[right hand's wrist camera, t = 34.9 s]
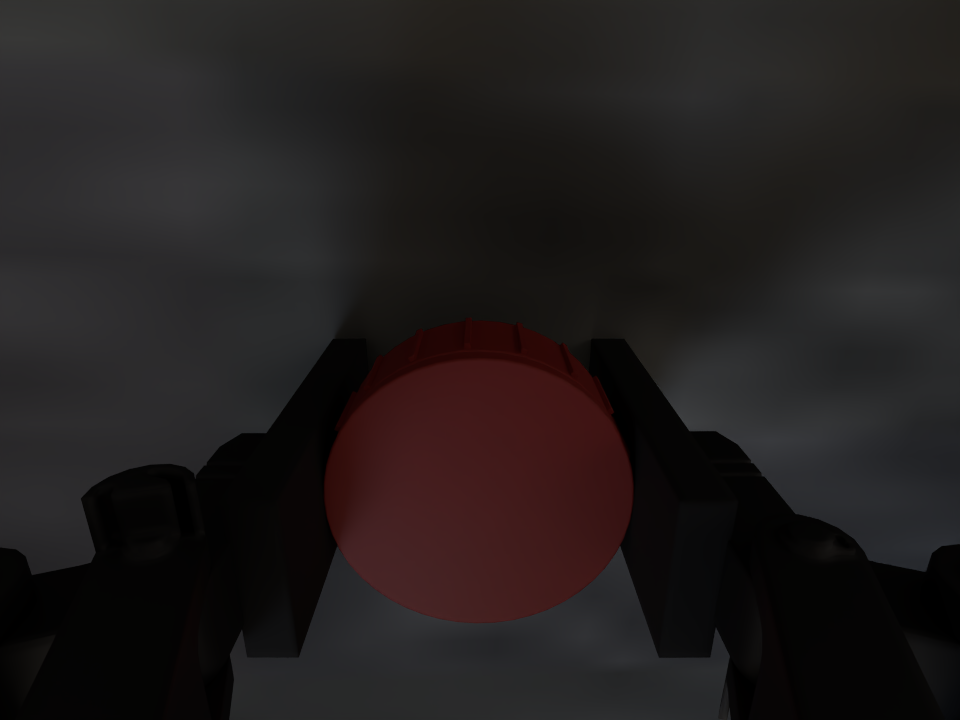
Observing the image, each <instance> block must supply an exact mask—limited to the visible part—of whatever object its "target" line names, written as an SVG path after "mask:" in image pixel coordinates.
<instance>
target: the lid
mask: <svg viewBox="0 0 960 720" xmlns="http://www.w3.org/2000/svg"><path fill="white" fill-rule="evenodd" d="M613 413H614V411H613V409H612V407H611V405H610V403H609V400H608V398H607V396H606V394H605V392H604V390H603V388H602V386H601V384H600V381H599V379H598V378H597V376H594V377H593V378H592V376H591V375H590V373H589V372H588V371H587V370H586V369H585V368H584V366H583V365H582V364H581V363H580V362H579V361H578V360H577V359H576V358H575V357H574V356H573V355H572V354H570V352H569V350H568V347H567V345H565V344H564V343H562V344H561V345H558V344H557V343H556V342H554V341H553V340H551V339H549V338H547V337H545V336H543V335H541V334H539V333H537V332H534V331H532V330H529V329H526V328H523V325H522V323H519V322H517V323H516V325H512V324H507V323H502V322H492V321H472V318H471V317H470V318H466V321H463V322H457V323H451V324H445V325H442V326H438V327H435V328H432V329H429V330H426V331H424V332H423V330H422V329H419V330H417V331H416V334H415V336H413V337H410V338H409V339H407V340H406V341H404V342H402V343H401V344H399V345H398V346H396V347H395V348H393V349H392V350H391V351H390V352H389V353H387V354H386V355H385V356H384V357H383V356H382V355H379V356H378V357H377V358H376V361H375V363H374V365H373V367H372V369H371V371H370V372H369V374H368V375H367V377H366V378H365V379H364V381H363V382H362V384H361V386H360V388H359V390H358V392H357V393H356V392H354V391H353V392H352V394H351V396H350V398H349V400H348V402H347V404H346V406H345V408H344V410H343V412H342V414H341V417H340V419H339V421H338V423H337V425H336V427H335V429H334V430H335V431H338V434H337V436H336V439H335V441H334V443H333V445H332V447H331V450H330V453H329V457H328V460H327V463H326V468H325V475H324V482H323V486H324V505H325V511H326V517H327V520H328V523H329V526H330V529H331V532H332V535H333V537H334V539H335V541H336V543H337V545H338V547H339V549H340V551H341V552H342V554H343V555H344V557H345V558H346V560H347V561H348V562H349V564H350V565H351V566H352V567H353V568H354V570H355V571H356V572H357V573H358V574H359V575H360V576H361V577H362V578H363V579H364V580H365V581H366V582H367V583H369V584H370V585H371V586H372V587H373V588H374V589H376V590H377V591H379V592H380V593H381V594H383V595H384V596H386V597H387V598H389V599H391V600H392V601H394V602H396V603H398V604H400V605H402V606H404V607H406V608H408V609H411V610H413V611H416V612H418V613H421V614H424V615H428V616H431V617H435V618H439V619H444V620H450V621H456V622H467V623H493V622H502V621H509V620H515V619H519V618H523V617H527V616H531V615H534V614H536V613H539V612H542V611H545V610H547V609H550V608H552V607H554V606H556V605H558V604H560V603H562V602H564V601H566V600H567V599H569V598H570V597H572V596H573V595H575V594H577V593H578V592H580V591H581V590H582V589H583V588H585V587H586V586H587V585H588V584H589V583H591V582H592V581H593V580H594V579H595V578H596V577H597V576H598V575H599V574H600V573H601V572H602V571H603V570H604V568H605V567H606V566H607V565H608V563H609V562H610V560H611V559H612V558H613V556H614V555H615V554H616V552H617V550H618V548H619V546H620V544H621V542H622V541H623V539H624V536H625V533H626V531H627V528H628V525H629V522H630V518H631V513H632V509H633V501H634V480H633V470H632V466H631V462H630V459H629V458H630V456H631V453H630V451H629V449H628V446H627V444H626V442H625V440H624V438H623V436H622V434H621V432H620V429H619V427H618V425H617V423H616V421H615V419H614V417H613V416H611V414H613Z"/></svg>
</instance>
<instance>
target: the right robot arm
mask: <svg viewBox="0 0 960 720" xmlns="http://www.w3.org/2000/svg"><path fill="white" fill-rule="evenodd" d="M589 373H590V375H591V376H592V378H593V377H594V376H597V378H598V379H599V381H600V384H601V386H602V388H603V390H604V392H605V394H606V396H607V398H608V400H609V403H610V405H611V407H612V409H613V411H614V413H613V414H611V416H613V417H614V419H615V421H616V423H617V425H618V427H619V429H620V432H621V434H622V436H623V438H624V440H625V442H626V444H627V446H628V449H629V451H630V453H631V456H630V458H629V459H630V462H631V466H632V470H633V480H634V501H633V509H632V513H631V518H630V522H629V525H628V528H627V531H626V533H625V536H624V539H623V541H622V542H621V544H620V546H621V549H622V552H623V555H624V558H625V561H626V564H627V567H628V569H629V572H630V575H631V578H632V581H633V584H634V587H635V590H636V593H637V595H638V598H639V601H640V604H641V607H642V610H643V613H644V616H645V619H646V621H647V624H648V627H649V630H650V633H651V636H652V639H653V642H654V645H655V647H656V650H657V653H658V656H659V658H686V657H710V655H711V650H712V644H713V639H714V633H715V628H717V630H718V632H719V634H720V636H721V638H722V640H723V642H724V644H725V647H726V649H727V651H728V653H729V655H730V659H729V664H728V669H727V674H726V679H725V684H724V690H723V695H722V700H721V705H720V711H719V719H723V720H727V716H728V712H729V707H730V715H731V720H960V544H957V545H948V546H941V547H940V548H939V549H937V550H936V551H935V552H933V553H932V555H931V558H930V561H929V564H928V567H927V570H926V572H922V571H917V570H912V569H907V568H902V567H897V566H892V565H887V564H882V563H877V562H873V561H869V560H868V559H867V557H866V555H865V552H864V551H863V550H862V548H861V547H860V546H859V545H858V543H857V542H856V541H855V540H854V539H853V538H852V537H850V536H849V535H847V534H846V533H845V532H843V531H842V530H840V529H839V528H837V527H835V526H833V525H830V524H828V523H826V522H823V521H821V520H819V519H815V518H811V517H807V516H803V515H798V514H795V513H794V512H793V511H792V509H791V508H790V507H789V506H788V505H787V503H786V502H785V501H784V500H783V499H782V497H781V496H780V495H779V494H778V493H777V491H776V490H775V489H774V488H773V487H772V485H771V484H770V483H769V482H768V480H767V479H766V478H765V477H762V475H761V472H760V471H759V470H758V468H757V467H756V466H755V465H754V464H753V463H751V460H750V459H749V458H748V456H747V455H746V454H745V453H744V452H743V450H742V449H741V448H740V447H739V446H738V445H737V444H736V443H734V442H732V441H731V440H729V439H728V438H726V437H724V436H723V435H721V434H719V433H718V432H716V431H689V430H688V429H687V427H686V426H685V424H684V423H683V422H682V420H681V419H680V417H679V416H678V414H677V413H676V412H675V410H674V409H673V407H672V406H671V405H670V403H669V402H668V400H667V399H666V398H665V396H664V395H663V393H662V392H661V390H660V389H659V388H658V386H657V385H656V383H655V382H654V381H653V379H652V378H651V376H650V375H649V374H648V372H647V371H646V369H645V368H644V366H643V365H642V364H641V362H640V361H639V359H638V358H637V357H636V355H635V354H634V352H633V351H632V349H631V348H630V347H629V345H628V344H627V342H626V341H625V340H624V339H592V342H591V356H590V370H589ZM367 375H368V365H367V351H366V339H333V340H332V341H331V343H330V344H329V346H328V347H327V348H326V350H325V351H324V353H323V354H322V356H321V357H320V358H319V360H318V361H317V363H316V364H315V365H314V367H313V368H312V370H311V371H310V372H309V374H308V375H307V377H306V378H305V380H304V381H303V382H302V384H301V385H300V387H299V388H298V389H297V391H296V392H295V394H294V395H293V396H292V398H291V399H290V401H289V402H288V404H287V405H286V406H285V408H284V409H283V411H282V412H281V413H280V415H279V416H278V418H277V419H276V420H275V422H274V423H273V425H272V426H271V428H270V429H269V430H268V432H267V433H242V434H240V435H238V436H237V437H235V438H233V439H232V440H230V441H228V442H227V443H225V444H224V445H222V446H220V447H219V448H218V450H217V451H216V452H215V453H214V454H213V456H212V457H211V458H210V459H209V461H208V462H207V466H204V467H203V468H202V469H201V470H200V471H199V473H198V474H197V475H196V479H195V477H194V473H192V472H191V471H190V470H188V469H187V468H186V467H183V466H178V465H173V464H157V465H147V466H142V467H138V468H133V469H129V470H126V471H123V472H121V473H118V474H115V475H113V476H110V477H108V478H106V479H105V480H103V481H101V482H100V483H98V484H96V485H95V486H93V487H91V488H90V490H89V491H88V492H87V493H86V494H85V495H84V496H83V497H82V498H81V501H82V504H83V508H84V511H85V515H86V518H87V522H88V526H89V529H90V533H91V536H92V540H93V543H94V547H95V551H96V554H95V556H94V558H93V560H92V562H91V563H88V564H84V565H80V566H75V567H70V568H66V569H61V570H56V571H51V572H46V573H41V574H36V575H32V574H31V571H30V568H29V565H28V562H27V559H26V556H24V555H23V554H22V553H20V552H19V551H17V550H16V549H8V548H0V720H229V716H230V708H231V700H232V691H233V683H234V677H233V670H232V664H231V659H230V653H231V651H232V649H233V646H234V644H235V642H236V640H237V638H238V636H239V634H240V632H241V630H242V631H243V636H244V642H245V647H246V653H247V657H299V655H300V652H301V649H302V646H303V643H304V640H305V637H306V634H307V632H308V629H309V626H310V623H311V620H312V617H313V614H314V611H315V608H316V605H317V603H318V600H319V597H320V594H321V591H322V588H323V585H324V582H325V579H326V577H327V574H328V571H329V568H330V565H331V562H332V559H333V556H334V553H335V551H336V548H337V543H336V541H335V539H334V537H333V535H332V532H331V529H330V526H329V523H328V520H327V517H326V511H325V505H324V486H323V482H324V475H325V468H326V463H327V460H328V457H329V453H330V450H331V447H332V445H333V443H334V441H335V439H336V436H337V434H338V431H335V430H334V429H335V427H336V425H337V423H338V421H339V419H340V417H341V414H342V412H343V410H344V408H345V406H346V404H347V402H348V400H349V398H350V396H351V394H352V392H353V391H354V392H356V393H357V392H358V390H359V388H360V386H361V384H362V382H363V381H364V379H365V378H366V377H367Z"/></svg>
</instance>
